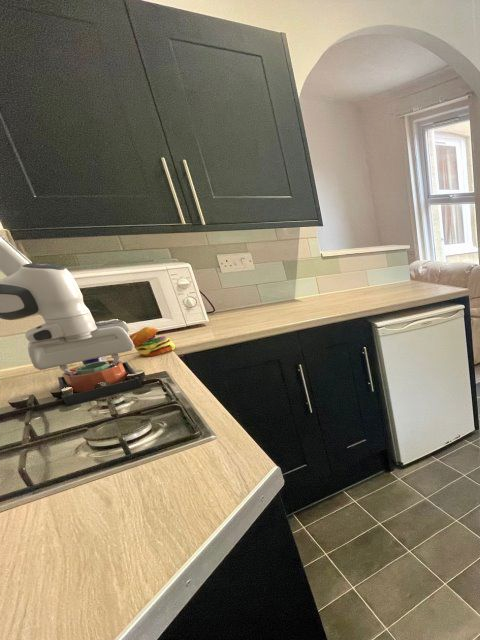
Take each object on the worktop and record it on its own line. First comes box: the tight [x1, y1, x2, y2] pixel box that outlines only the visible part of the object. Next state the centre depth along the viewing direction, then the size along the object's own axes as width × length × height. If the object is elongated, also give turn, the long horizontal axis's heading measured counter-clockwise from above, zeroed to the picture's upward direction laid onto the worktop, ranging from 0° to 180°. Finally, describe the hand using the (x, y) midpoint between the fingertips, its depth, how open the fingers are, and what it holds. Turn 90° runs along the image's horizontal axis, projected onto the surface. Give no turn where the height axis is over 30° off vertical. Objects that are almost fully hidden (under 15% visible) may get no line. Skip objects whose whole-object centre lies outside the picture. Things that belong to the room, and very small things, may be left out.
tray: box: [57, 361, 143, 407], centre depth 117 cm, size 15×21×2 cm
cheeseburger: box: [129, 326, 176, 357], centre depth 142 cm, size 10×11×10 cm
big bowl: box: [62, 359, 127, 392], centre depth 116 cm, size 12×12×6 cm
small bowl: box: [76, 361, 111, 375], centre depth 116 cm, size 7×7×4 cm
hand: (96, 374), depth 116 cm, fingers closed on small bowl, 7 cm apart
